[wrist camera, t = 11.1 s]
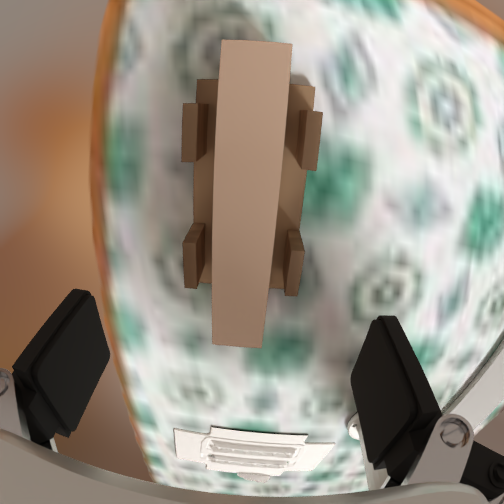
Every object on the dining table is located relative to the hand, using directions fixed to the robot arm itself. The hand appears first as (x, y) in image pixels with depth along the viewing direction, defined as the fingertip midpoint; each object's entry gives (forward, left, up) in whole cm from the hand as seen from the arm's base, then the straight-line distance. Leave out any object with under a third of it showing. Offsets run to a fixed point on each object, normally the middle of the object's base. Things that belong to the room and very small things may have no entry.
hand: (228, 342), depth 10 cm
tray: (-3, +48, -19) cm, 51 cm away
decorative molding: (-44, +24, -19) cm, 54 cm away
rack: (0, 0, -18) cm, 18 cm away
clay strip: (0, 0, -17) cm, 17 cm away
